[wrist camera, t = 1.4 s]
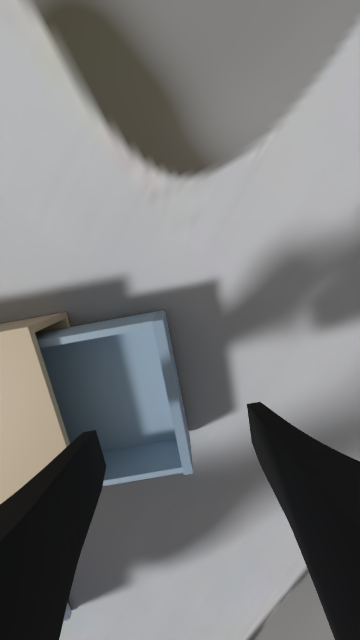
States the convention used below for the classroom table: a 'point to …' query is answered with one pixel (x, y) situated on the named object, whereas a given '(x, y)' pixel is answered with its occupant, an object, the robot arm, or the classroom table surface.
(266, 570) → the classroom table surface
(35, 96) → the classroom table surface
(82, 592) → the classroom table surface
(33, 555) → the robot arm
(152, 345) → the tray
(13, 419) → the sleeve
